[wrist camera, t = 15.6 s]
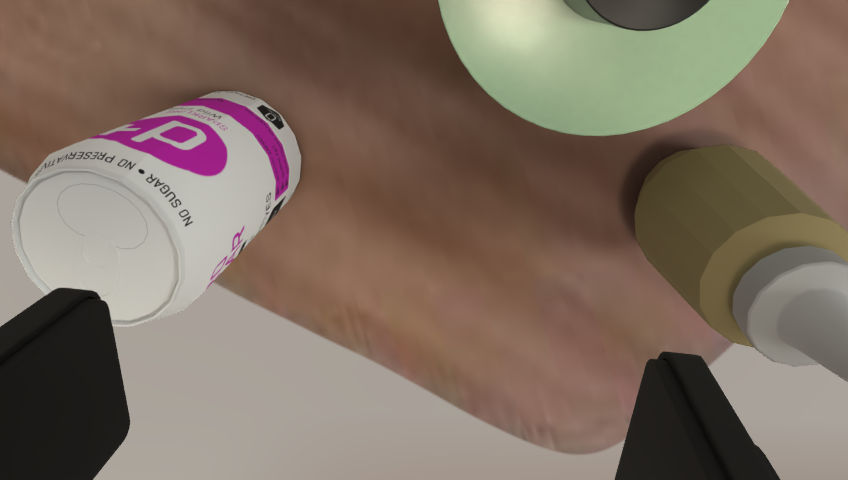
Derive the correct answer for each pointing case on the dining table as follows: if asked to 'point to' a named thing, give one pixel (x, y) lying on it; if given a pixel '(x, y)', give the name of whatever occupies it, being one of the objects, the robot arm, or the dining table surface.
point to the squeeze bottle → (749, 253)
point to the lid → (606, 56)
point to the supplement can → (156, 204)
